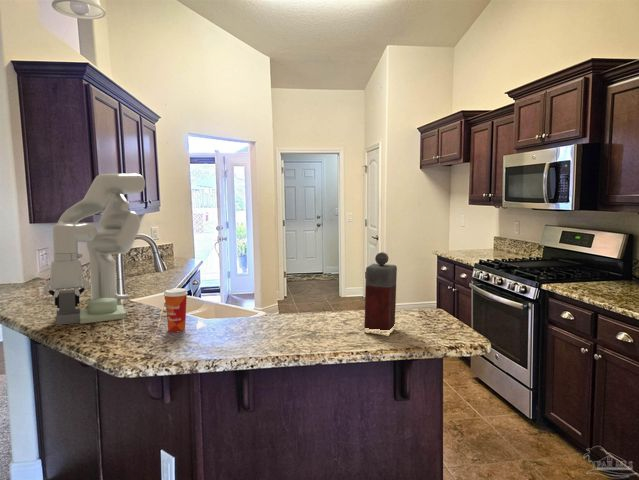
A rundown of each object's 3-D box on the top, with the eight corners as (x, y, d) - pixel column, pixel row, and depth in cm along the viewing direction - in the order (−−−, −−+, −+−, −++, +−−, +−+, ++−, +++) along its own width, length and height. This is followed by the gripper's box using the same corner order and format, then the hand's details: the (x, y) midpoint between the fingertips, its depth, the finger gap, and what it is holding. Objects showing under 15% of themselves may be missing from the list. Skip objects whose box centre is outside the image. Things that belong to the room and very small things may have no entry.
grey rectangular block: (75, 307, 156) (75, 289, 156) (75, 311, 151) (74, 292, 151) (59, 309, 154) (59, 290, 153) (59, 312, 149) (58, 293, 148)
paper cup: (159, 330, 142) (159, 291, 141) (177, 325, 149) (176, 287, 148) (176, 334, 139) (175, 293, 138) (193, 328, 146) (192, 289, 144)
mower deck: (122, 309, 169) (122, 295, 168) (125, 318, 157) (125, 302, 156) (57, 316, 158) (56, 301, 157) (55, 326, 145) (54, 309, 145)
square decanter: (396, 327, 151) (398, 251, 148) (389, 336, 140) (392, 254, 138) (372, 324, 154) (374, 249, 151) (363, 333, 144) (366, 253, 141)
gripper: (92, 255, 159) (93, 302, 160) (38, 257, 150) (40, 306, 151) (92, 257, 152) (94, 306, 154) (37, 260, 144) (38, 311, 145)
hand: (67, 306), depth 152 cm, fingers closed on grey rectangular block, 5 cm apart
